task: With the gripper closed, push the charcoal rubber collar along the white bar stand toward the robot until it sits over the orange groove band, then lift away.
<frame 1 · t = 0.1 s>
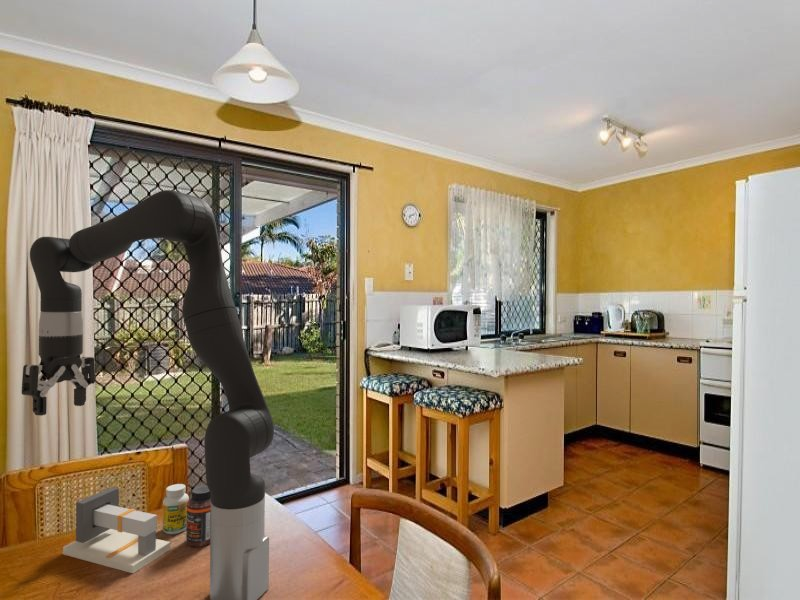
hand: (60, 410, 97), 29 cm above the table, fingers open, 8 cm apart
collar: (98, 513, 98), point 7 cm above the table, slide at 0.0 cm
supplement bottle: (175, 529, 105), on the table
white bar stand: (117, 551, 96), on the table
supplement bottle 2: (201, 541, 101), on the table
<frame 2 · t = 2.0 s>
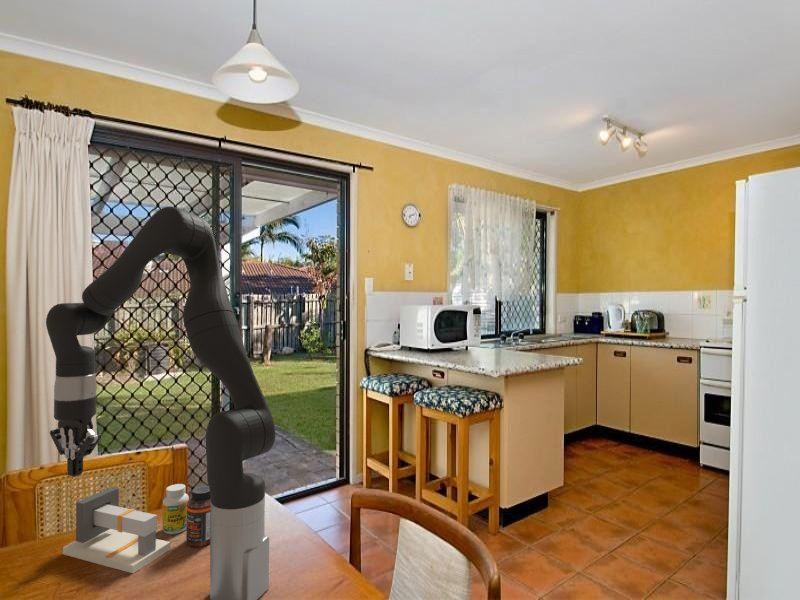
hand: (75, 474, 100), 14 cm above the table, fingers closed
nothing on the table moved.
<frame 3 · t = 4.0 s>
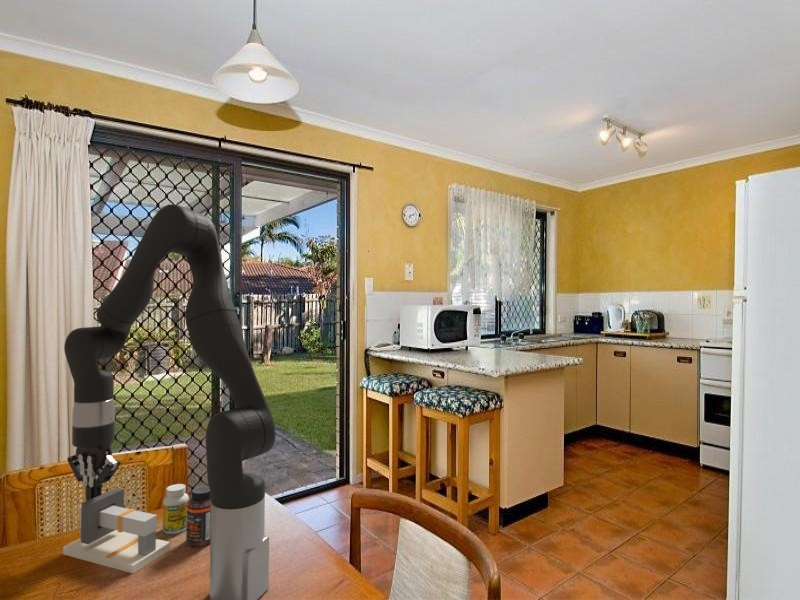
hand: (93, 502, 98), 9 cm above the table, fingers closed
collar: (103, 515, 97), point 7 cm above the table, slide at 1.5 cm, touching gripper
everything else where it was.
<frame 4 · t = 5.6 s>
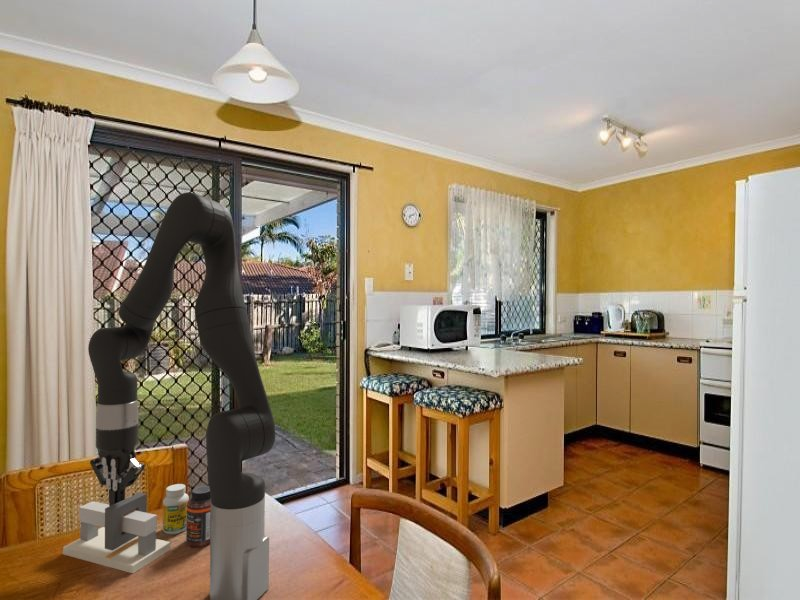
hand: (116, 506, 96), 9 cm above the table, fingers closed
collar: (126, 520, 95), point 7 cm above the table, slide at 8.0 cm, touching gripper
everything else where it was.
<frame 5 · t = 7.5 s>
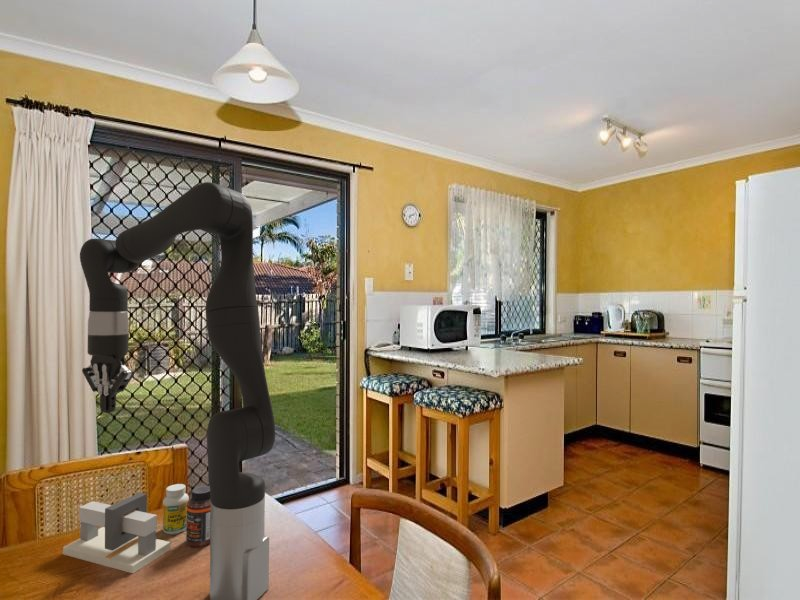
hand: (107, 411, 100), 28 cm above the table, fingers closed
collar: (126, 520, 95), point 7 cm above the table, slide at 8.0 cm
everything else where it was.
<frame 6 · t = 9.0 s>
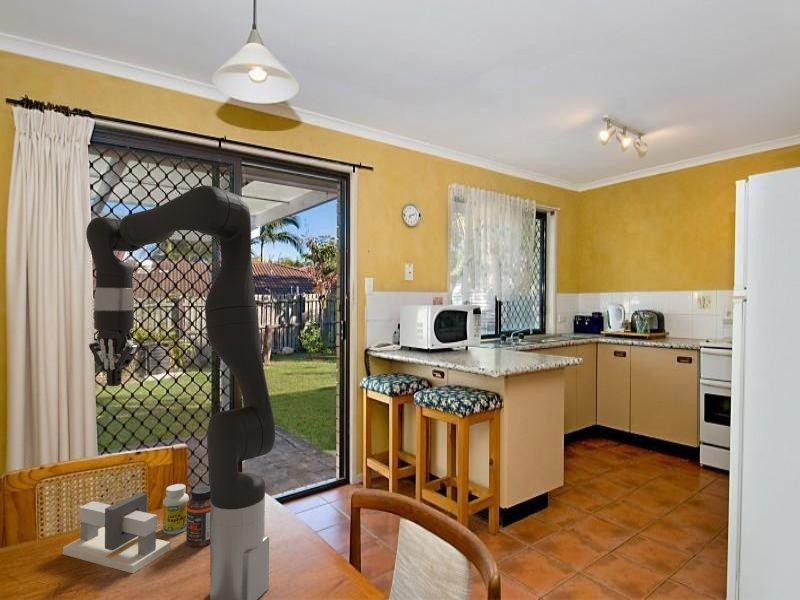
hand: (113, 385, 103), 33 cm above the table, fingers closed
nothing on the table moved.
at the end: collar slide at 8.0 cm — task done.
